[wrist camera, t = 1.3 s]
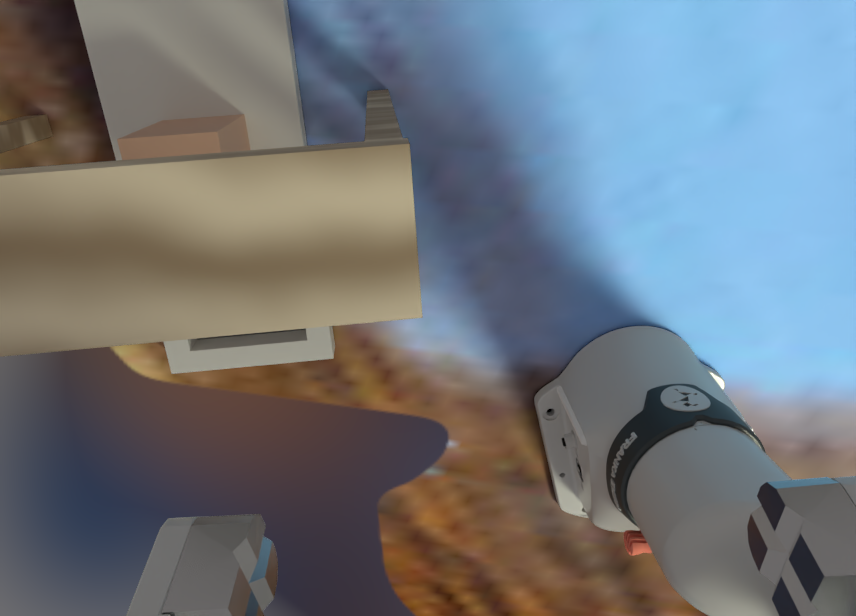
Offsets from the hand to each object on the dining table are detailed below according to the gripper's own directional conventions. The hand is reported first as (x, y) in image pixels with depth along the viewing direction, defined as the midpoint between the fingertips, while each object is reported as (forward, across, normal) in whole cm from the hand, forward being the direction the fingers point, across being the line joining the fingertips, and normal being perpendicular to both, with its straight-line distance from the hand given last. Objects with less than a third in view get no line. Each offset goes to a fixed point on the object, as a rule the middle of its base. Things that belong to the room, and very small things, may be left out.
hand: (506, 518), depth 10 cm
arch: (+41, -19, -9) cm, 46 cm away
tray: (+41, -19, -11) cm, 46 cm away
